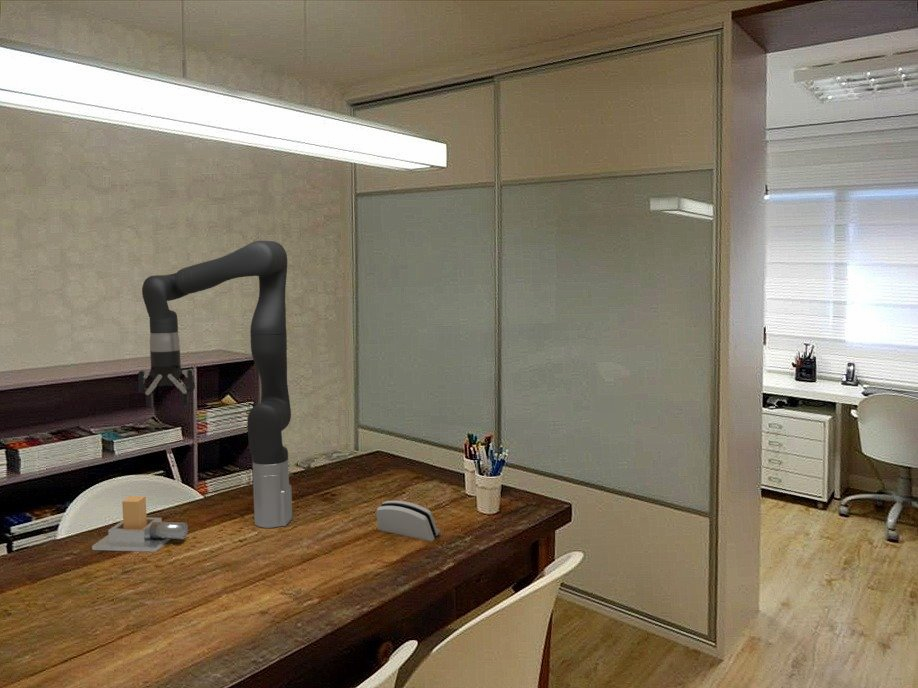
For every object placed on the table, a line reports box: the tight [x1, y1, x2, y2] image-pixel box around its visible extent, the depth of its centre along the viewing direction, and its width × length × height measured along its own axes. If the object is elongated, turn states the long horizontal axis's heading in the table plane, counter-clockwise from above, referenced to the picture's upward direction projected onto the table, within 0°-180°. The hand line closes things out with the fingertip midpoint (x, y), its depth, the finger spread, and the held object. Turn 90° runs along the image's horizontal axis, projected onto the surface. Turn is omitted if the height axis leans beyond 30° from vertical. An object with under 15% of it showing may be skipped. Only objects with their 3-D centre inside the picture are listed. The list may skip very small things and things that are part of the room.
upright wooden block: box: [121, 495, 147, 529], centre depth 179 cm, size 4×4×11 cm
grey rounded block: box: [375, 500, 442, 542], centre depth 184 cm, size 17×5×10 cm, turn 62°
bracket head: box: [91, 516, 189, 553], centre depth 179 cm, size 20×12×5 cm, turn 86°
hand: (167, 407), depth 195 cm, fingers open, 8 cm apart
